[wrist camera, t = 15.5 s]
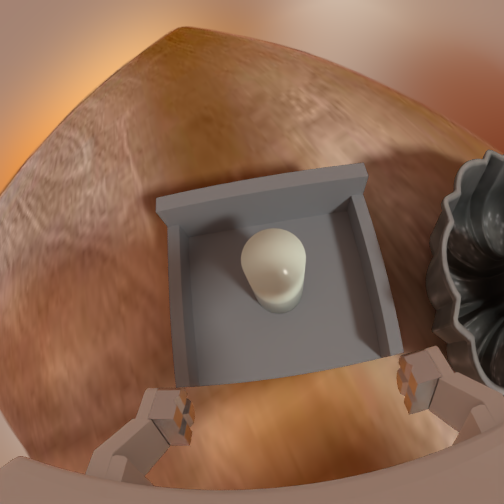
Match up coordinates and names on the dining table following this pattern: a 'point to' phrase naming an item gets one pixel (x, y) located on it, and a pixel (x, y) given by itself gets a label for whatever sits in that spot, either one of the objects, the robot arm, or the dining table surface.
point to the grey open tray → (242, 296)
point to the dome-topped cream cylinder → (275, 269)
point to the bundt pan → (471, 271)
